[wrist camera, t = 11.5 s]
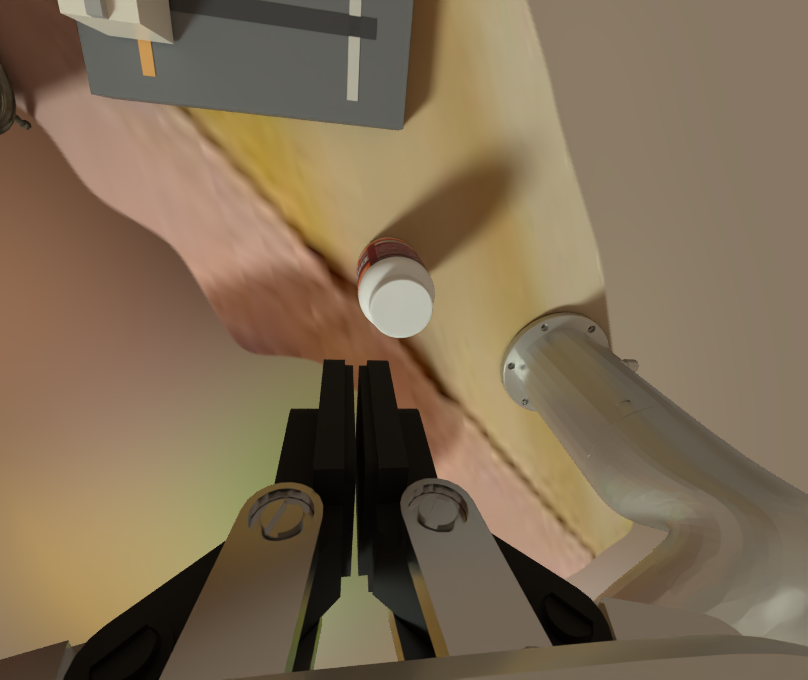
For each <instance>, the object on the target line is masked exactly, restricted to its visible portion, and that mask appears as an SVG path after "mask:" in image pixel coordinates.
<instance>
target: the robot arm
mask: <svg viewBox="0 0 808 680" xmlns="http://www.w3.org/2000/svg"><path fill="white" fill-rule="evenodd" d="M638 366H639V365H638V362H637V361H636V360H627V359H624V360H621V359H620V358H619V357H617V356H616V355H615V354H613V353H612V352H611V351H610V347H609V342H608V338H607V337H606V335H605V333H604V331H603V330H602V329H601V328H600V326H599V325H598V324H596V323H595V322H594V321H592V320H591V319H589V318H587V317H585V316H583V315H580V314H576V313H566V312H562V313H555V314H551V315H548V316H544V317H542V318H540V319H538V320H536V321H534V322H532V323H530V324H529V325H528V326H526V327H525V328H524V329H522V330H521V331H520V332H519V333H518V334H517V335H516V336H515V338H514V339H513V340H512V342H511V343H510V344H509V346H508V348H507V350H506V352H505V354H504V357H503V361H502V364H501V378H502V383H503V385H504V388H505V390H506V391H507V393H508V395H509V396H510V397H511V398H512V400H513V401H514V402H515V403H517V404H518V405H519V406H521V407H523V408H525V409H528V410H531V411H536V412H538V413H539V414H540V416H541V417H542V419H543V420H544V421H545V423H546V424H547V425H548V427H549V428H550V430H551V431H552V432H553V434H554V435H555V437H556V438H557V439H558V441H559V442H560V443H561V445H562V446H563V448H564V449H565V450H566V452H567V453H568V454H569V456H570V457H571V459H572V460H573V461H574V463H575V464H576V465H577V467H578V468H579V470H580V471H581V472H582V474H583V475H584V476H585V478H586V479H587V481H588V482H589V483H590V485H591V486H592V487H593V489H594V490H595V491H596V493H597V494H598V496H599V497H600V498H601V499H602V500H603V501H604V502H605V504H607V505H608V506H609V507H610V508H611V509H612V510H614V511H615V512H617V513H618V514H620V515H621V516H623V517H625V518H627V519H629V520H631V521H633V522H636V523H638V524H641V525H644V526H648V527H651V528H655V529H658V530H663V531H666V532H669V534H668V536H667V537H666V538H665V540H663V541H662V542H661V543H660V544H659V545H658V546H657V547H656V548H654V549H653V551H652V552H651V553H650V554H649V555H648V556H646V557H645V558H644V559H643V560H641V561H640V562H639V563H638V564H637V565H635V566H634V567H633V568H632V569H630V570H629V571H628V572H627V573H625V574H624V575H623V576H622V577H621V578H619V579H618V580H617V581H616V582H614V583H613V584H612V585H611V586H609V587H608V589H606V590H605V591H604V592H603V593H602V594H600V595H599V596H598V597H597V598H596V599H595V600H594V601H592V600H591V598H589V597H588V596H587V595H586V594H584V593H583V592H582V591H581V590H579V589H578V588H577V587H575V586H573V585H572V584H570V583H569V582H567V581H566V580H564V579H562V578H561V577H559V576H558V575H556V574H555V573H553V572H551V571H550V570H548V569H547V568H545V567H544V566H542V565H540V564H539V563H537V562H536V561H534V560H533V559H531V558H529V557H528V556H526V555H525V554H523V553H522V552H520V551H518V550H517V549H515V548H514V547H512V546H511V545H509V544H507V543H506V542H504V541H503V540H501V539H500V538H498V537H496V536H495V535H493V534H492V533H491V532H490V530H489V528H488V527H487V525H486V523H485V521H484V519H483V518H482V516H481V514H480V512H479V510H478V508H477V507H476V505H475V503H474V501H473V500H472V498H471V497H470V496H469V494H468V493H467V492H466V491H465V490H463V489H462V488H461V487H460V486H458V485H456V484H454V483H452V482H450V481H448V480H443V479H438V478H437V474H436V471H435V467H434V464H433V460H432V456H431V453H430V449H429V446H428V442H427V438H426V435H425V431H424V428H423V424H422V420H421V417H420V413H419V411H418V409H398V408H397V403H396V398H395V393H394V388H393V383H392V378H391V373H390V368H389V363H388V361H377V360H367V366H359V378H358V397H357V418H356V437H355V414H354V384H353V365H345V360H324V364H323V374H322V383H321V384H322V385H321V393H320V403H319V409H291V410H290V413H289V418H288V423H287V427H286V433H285V437H284V442H283V446H282V451H281V456H280V460H279V465H278V470H277V475H276V479H275V484H274V485H270V486H267V487H265V488H263V489H261V490H259V491H257V492H256V493H255V494H254V495H253V496H251V497H250V498H249V499H248V500H247V501H246V503H245V504H244V506H243V507H242V509H241V510H240V512H239V515H238V517H237V519H236V521H235V523H234V525H233V527H232V529H231V531H230V533H229V535H228V537H227V539H226V541H224V542H223V543H222V544H220V545H219V546H217V547H216V548H215V549H213V550H212V551H210V552H209V553H207V554H206V555H205V556H203V557H202V558H200V559H199V560H198V561H196V562H195V563H193V564H192V565H191V566H189V567H188V568H186V569H185V570H183V571H182V572H180V573H179V574H178V575H176V576H175V577H173V578H172V579H170V580H169V581H168V582H166V583H165V584H163V585H162V586H161V587H159V588H158V589H156V590H155V591H154V592H152V593H151V594H149V595H148V596H146V597H145V598H144V599H142V600H141V601H139V602H138V603H136V604H135V605H134V606H132V607H131V608H129V609H128V610H127V611H125V612H124V613H122V614H121V615H119V616H118V617H117V618H115V619H114V620H112V621H111V622H110V623H108V624H107V625H105V626H104V627H103V628H102V629H101V630H99V631H98V632H97V633H96V634H95V635H94V636H92V637H91V638H90V639H89V640H88V641H87V642H86V643H83V644H79V645H76V646H73V647H71V645H70V643H69V641H68V640H67V641H64V642H60V643H57V644H53V645H50V646H46V647H43V648H39V649H36V650H33V651H29V652H25V653H22V654H18V655H15V656H12V657H8V658H5V659H1V660H0V680H808V494H806V493H804V492H803V491H801V490H799V489H798V488H796V487H794V486H793V485H791V484H789V483H788V482H786V481H784V480H783V479H781V478H779V477H777V476H776V475H774V474H773V473H771V472H770V471H768V470H766V469H765V468H763V467H762V466H760V465H759V464H757V463H755V462H754V461H752V460H751V459H749V458H748V457H746V456H745V455H743V454H742V453H741V452H739V451H738V450H737V449H735V448H734V447H732V446H731V445H730V444H728V443H727V442H725V441H724V440H723V439H721V438H720V437H718V436H717V435H716V434H714V433H713V432H711V431H710V430H709V429H708V428H706V427H705V426H704V425H702V424H701V423H700V422H698V421H697V420H696V419H695V418H693V417H692V416H690V414H688V413H686V412H685V411H684V410H682V409H681V408H680V407H679V406H677V405H676V404H675V403H674V402H672V401H671V400H670V399H668V398H667V397H666V396H664V395H663V394H662V393H661V392H659V391H658V390H657V389H656V388H654V387H653V386H652V385H650V384H649V383H648V382H647V381H645V380H644V379H643V378H641V377H640V376H639V375H638V374H636V373H635V372H636V371H637V369H638ZM355 484H356V513H357V514H356V515H357V547H358V548H357V549H358V575H359V576H362V575H368V590H369V592H373V595H374V596H375V597H376V598H377V599H379V600H380V601H381V602H382V603H383V604H384V605H385V606H387V607H388V609H387V610H388V621H389V625H390V630H391V634H392V638H393V642H394V646H395V651H396V655H397V659H398V662H388V663H379V664H369V665H358V666H348V667H339V668H329V669H320V670H313V669H314V664H315V658H316V653H317V648H318V643H319V638H320V633H321V627H322V616H323V614H324V613H325V612H326V611H327V610H328V609H329V608H330V607H331V606H332V605H333V604H334V603H335V602H336V601H337V600H338V599H339V598H340V591H341V577H347V576H350V574H351V556H352V539H353V521H354V502H355Z"/></svg>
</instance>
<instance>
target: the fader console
mask: <svg viewBox="0 0 808 680" xmlns="http://www.w3.org/2000/svg"><path fill="white" fill-rule="evenodd" d="M169 8H170V16H171V24H172V32H173V40H174V44H168V43H161V42H153V41H146V40H138V39H131V38H123V37H116V36H109V35H106V34H104V33H102V32H100V31H98V30H96V29H94V28H92V27H89V26H87V25H85V24H83V23H81V22H79V21H77V20H76V23H77V28H78V32H79V37H80V42H81V47H82V52H83V57H84V62H85V66H86V71H87V76H88V81H89V86H90V91H91V94H93V95H98V96H103V97H108V98H112V99H120V100H129V101H138V102H147V103H156V104H165V105H175V106H184V107H193V108H202V109H211V110H220V111H229V112H238V113H247V114H256V115H265V116H274V117H283V118H292V119H301V120H310V121H319V122H328V123H337V124H346V125H355V126H364V127H373V128H382V129H391V130H401V129H403V124H404V111H405V99H406V87H407V74H408V62H409V49H410V37H411V25H412V12H413V0H169Z"/></svg>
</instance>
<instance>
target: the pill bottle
mask: <svg viewBox="0 0 808 680" xmlns="http://www.w3.org/2000/svg"><path fill="white" fill-rule="evenodd" d="M357 281H358V297H359V303H360V306H361V309H362V311H363V313H364V314H365V316H366V317H367V318H368V319H369V320H370V321H371V322H372V323H373V324H374V325H375V326H376V327H377V328H378V329H379V330H380V331H381V332H382V333H384V334H386V335H388V336H391V337H395V338H405V337H409V336H412V335H415V334H417V333H418V332H420V331H421V330H422V329H423V328H424V327H425V326H426V325H427V324H428V322H429V320H430V318H431V315H432V310H433V302H434V296H435V291H434V285H433V281H432V279H431V277H430V275H429V273H428V271H427V270H426V268H425V267H424V265H423V263H422V262H421V260H420V258H419V257H418V255H417V253H416V252H415V251H414V249H413V248H412V247H411V246H410V245H409V244H407V243H406V242H404V241H402V240H400V239H397V238H392V237H385V238H380V239H377V240H375V241H373V242H371V243H370V244H369V245H367V246H366V247H365V248H364V250H363V251H362V252H361V254H360V256H359V259H358V262H357Z"/></svg>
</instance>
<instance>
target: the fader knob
mask: <svg viewBox="0 0 808 680" xmlns="http://www.w3.org/2000/svg"><path fill="white" fill-rule="evenodd" d="M58 4H59V9H60V13H62V14H64V15H66V16H68V17H70V18H72V19H75V20H77V21H79V22H81V23H83V24H85V25H87V26H89V27H92V28H94V29H96V30H98V31H100V32H102V33H104V34H106V35H109V36H116V37H123V38H131V39H138V40H146V41H153V42H161V43H168V44H174V40H173V32H172V24H171V16H170V8H169V0H58Z"/></svg>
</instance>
